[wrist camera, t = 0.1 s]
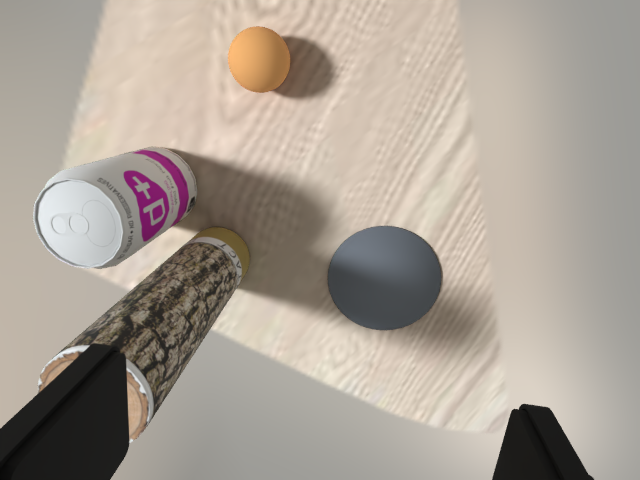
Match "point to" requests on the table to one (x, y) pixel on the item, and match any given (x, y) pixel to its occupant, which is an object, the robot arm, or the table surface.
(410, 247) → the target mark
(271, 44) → the ball
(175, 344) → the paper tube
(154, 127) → the table surface
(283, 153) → the table surface
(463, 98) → the table surface
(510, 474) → the robot arm
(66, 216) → the supplement can
